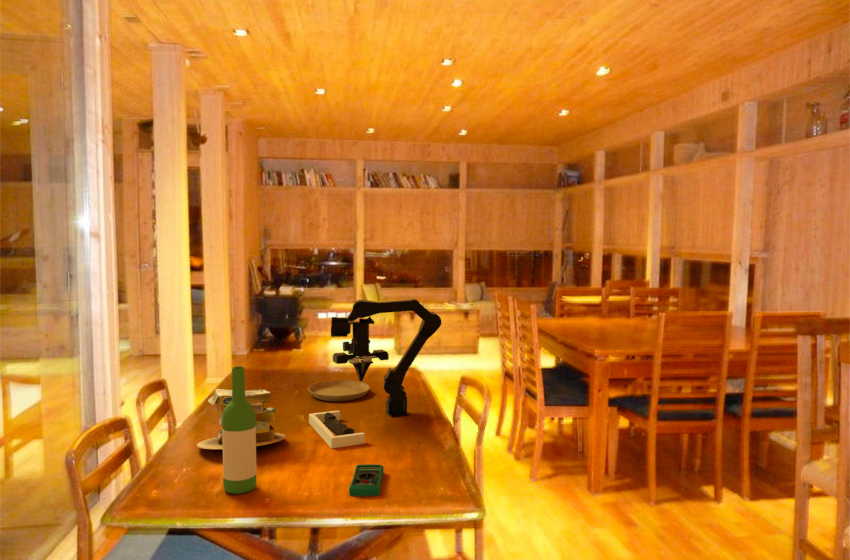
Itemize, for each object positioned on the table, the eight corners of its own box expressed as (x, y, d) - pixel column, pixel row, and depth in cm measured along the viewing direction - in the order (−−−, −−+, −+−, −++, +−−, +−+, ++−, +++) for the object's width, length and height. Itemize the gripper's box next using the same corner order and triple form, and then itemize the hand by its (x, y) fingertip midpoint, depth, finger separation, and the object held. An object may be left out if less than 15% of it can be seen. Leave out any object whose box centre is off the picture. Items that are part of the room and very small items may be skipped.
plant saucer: (380, 397, 232) (380, 389, 232) (323, 407, 219) (323, 398, 219) (352, 385, 252) (352, 377, 252) (298, 393, 239) (298, 384, 239)
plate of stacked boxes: (202, 436, 185) (201, 383, 184) (284, 430, 191) (283, 378, 190) (192, 465, 161) (191, 404, 160) (286, 457, 167) (286, 398, 166)
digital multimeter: (348, 498, 142) (348, 486, 142) (355, 473, 157) (355, 462, 156) (379, 498, 142) (379, 486, 141) (383, 474, 157) (383, 463, 156)
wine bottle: (218, 495, 142) (216, 370, 140) (229, 482, 150) (227, 364, 148) (251, 495, 142) (249, 371, 140) (260, 482, 150) (258, 364, 148)
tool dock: (338, 419, 203) (338, 410, 203) (364, 443, 179) (364, 433, 178) (308, 422, 199) (308, 413, 199) (331, 448, 174) (331, 438, 174)
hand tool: (355, 440, 182) (355, 425, 182) (342, 442, 180) (342, 427, 180) (333, 423, 199) (333, 410, 199) (322, 425, 197) (322, 411, 197)
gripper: (378, 331, 217) (378, 373, 218) (328, 334, 210) (328, 378, 211) (389, 336, 207) (389, 380, 208) (337, 339, 199) (337, 385, 200)
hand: (360, 381), depth 207 cm, fingers closed
